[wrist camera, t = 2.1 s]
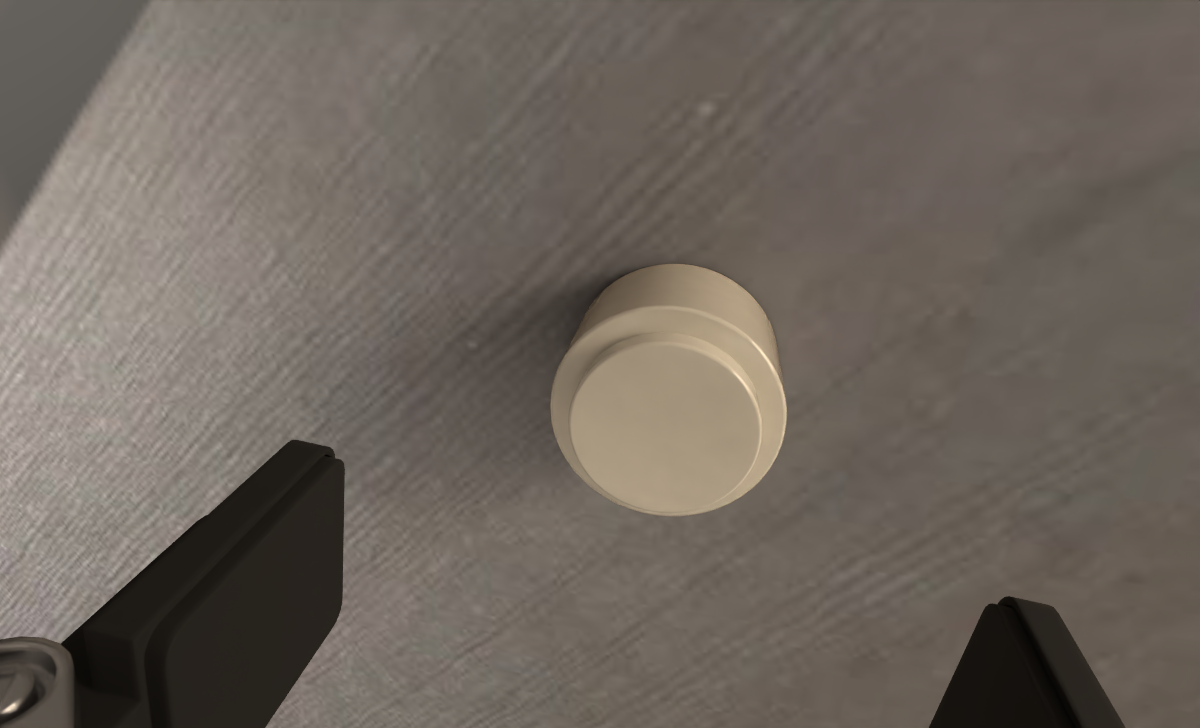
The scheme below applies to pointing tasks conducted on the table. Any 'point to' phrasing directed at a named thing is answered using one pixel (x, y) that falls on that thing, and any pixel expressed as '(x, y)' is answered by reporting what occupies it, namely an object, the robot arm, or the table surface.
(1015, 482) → the table surface
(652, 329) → the tan tin with lid
